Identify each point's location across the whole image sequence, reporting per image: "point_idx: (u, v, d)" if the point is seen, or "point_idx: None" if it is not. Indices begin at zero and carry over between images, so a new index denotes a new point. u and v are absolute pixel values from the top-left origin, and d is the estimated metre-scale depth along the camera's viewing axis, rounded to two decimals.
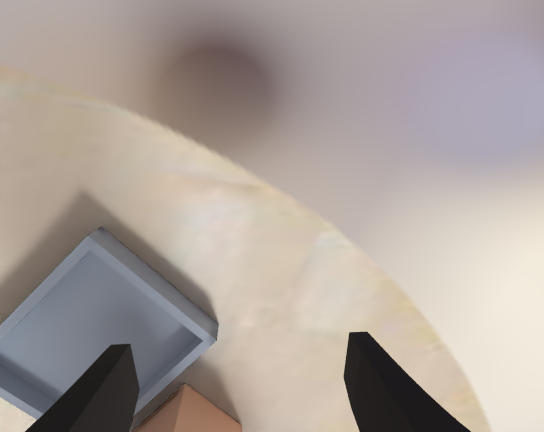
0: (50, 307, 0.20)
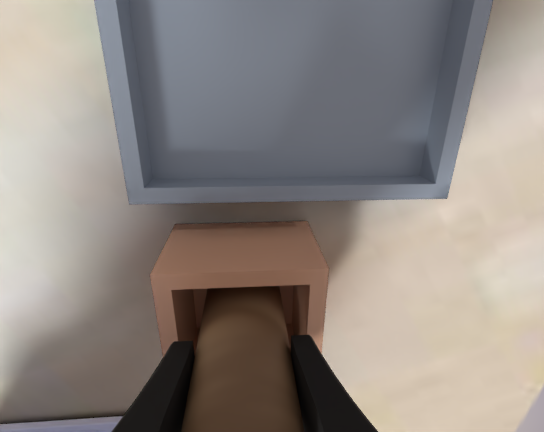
0: None
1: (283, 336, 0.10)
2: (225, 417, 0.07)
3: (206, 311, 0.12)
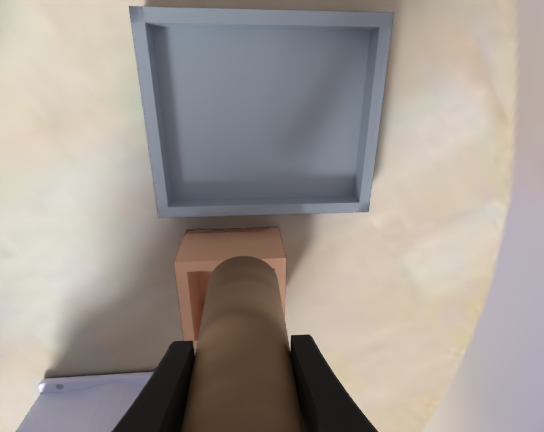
0: (264, 44, 0.16)
1: (283, 337, 0.10)
2: (225, 418, 0.07)
3: (206, 312, 0.12)
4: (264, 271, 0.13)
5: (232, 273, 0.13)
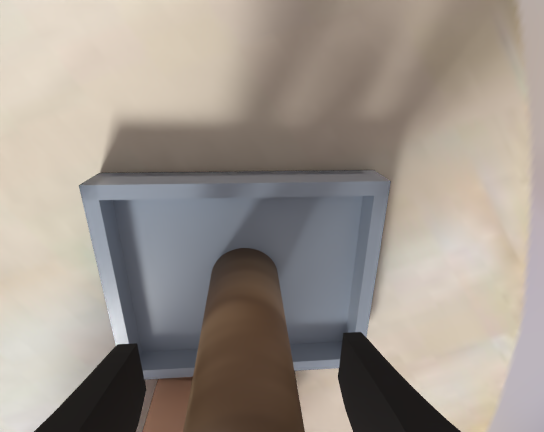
0: (242, 203, 0.14)
1: (281, 322, 0.11)
2: (229, 390, 0.08)
3: (210, 299, 0.12)
4: (264, 263, 0.14)
5: (234, 264, 0.13)
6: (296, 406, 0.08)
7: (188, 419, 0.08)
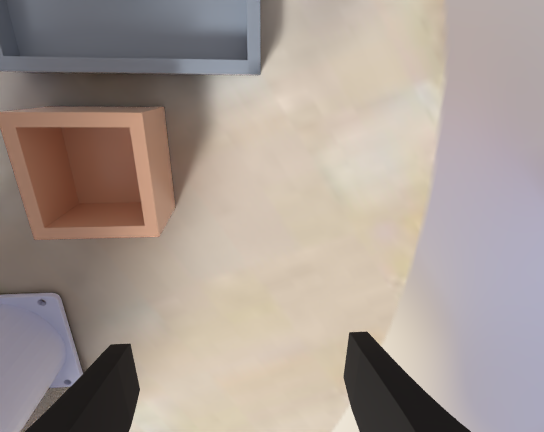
0: None
1: None
2: None
3: None
4: None
5: None
6: None
7: None
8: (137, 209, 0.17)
